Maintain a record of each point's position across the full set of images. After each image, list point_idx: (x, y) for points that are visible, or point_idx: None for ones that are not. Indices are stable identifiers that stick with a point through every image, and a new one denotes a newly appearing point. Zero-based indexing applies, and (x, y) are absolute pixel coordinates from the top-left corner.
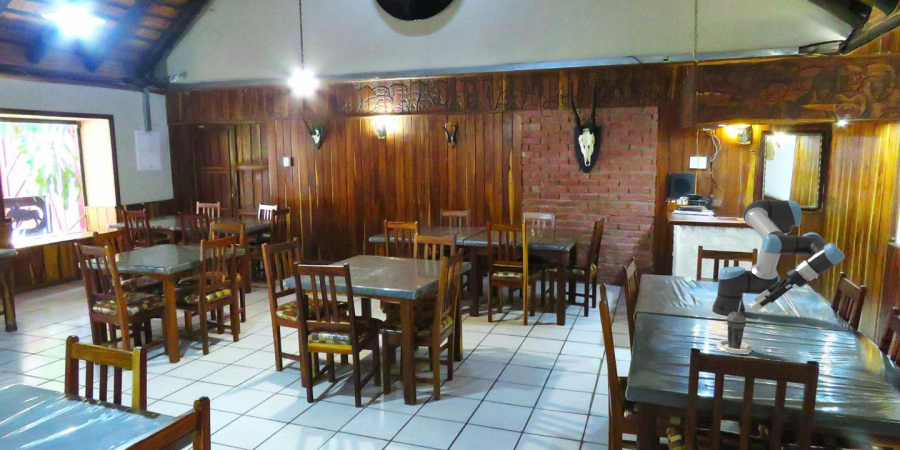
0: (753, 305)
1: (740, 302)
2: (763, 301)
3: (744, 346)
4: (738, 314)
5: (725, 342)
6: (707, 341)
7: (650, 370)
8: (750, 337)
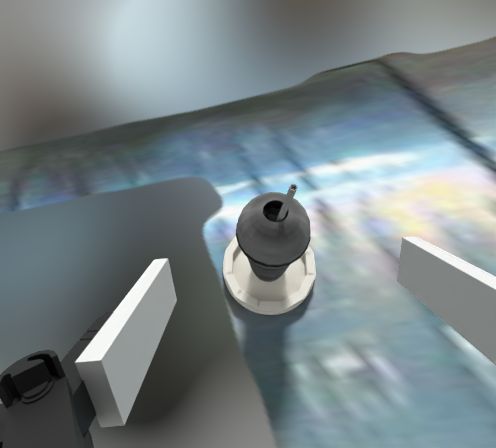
0: (147, 271)
1: (288, 191)
2: (73, 348)
3: (298, 289)
4: (253, 223)
5: None
6: None
7: (29, 162)
8: None
